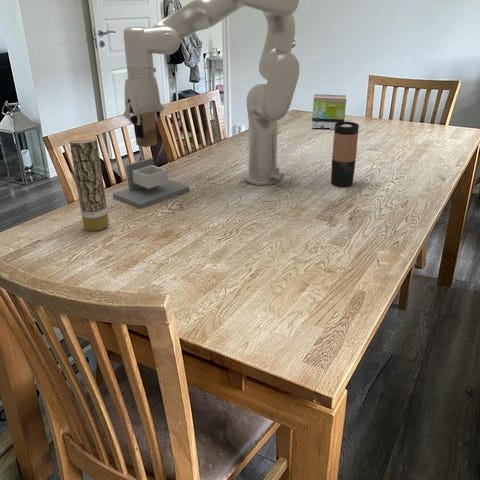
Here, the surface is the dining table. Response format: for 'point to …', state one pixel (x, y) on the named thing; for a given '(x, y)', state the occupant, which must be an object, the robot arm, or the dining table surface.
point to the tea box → (328, 110)
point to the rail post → (148, 130)
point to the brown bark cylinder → (89, 181)
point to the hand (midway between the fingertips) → (146, 135)
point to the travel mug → (344, 153)
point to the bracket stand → (148, 185)
